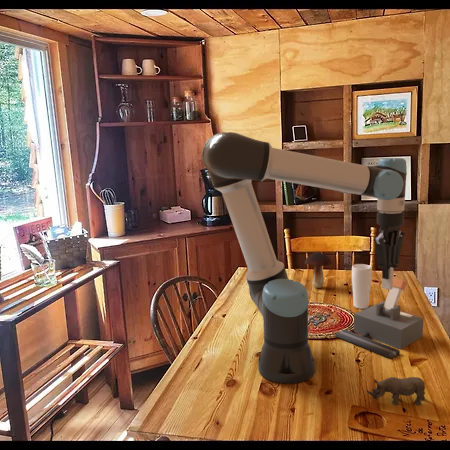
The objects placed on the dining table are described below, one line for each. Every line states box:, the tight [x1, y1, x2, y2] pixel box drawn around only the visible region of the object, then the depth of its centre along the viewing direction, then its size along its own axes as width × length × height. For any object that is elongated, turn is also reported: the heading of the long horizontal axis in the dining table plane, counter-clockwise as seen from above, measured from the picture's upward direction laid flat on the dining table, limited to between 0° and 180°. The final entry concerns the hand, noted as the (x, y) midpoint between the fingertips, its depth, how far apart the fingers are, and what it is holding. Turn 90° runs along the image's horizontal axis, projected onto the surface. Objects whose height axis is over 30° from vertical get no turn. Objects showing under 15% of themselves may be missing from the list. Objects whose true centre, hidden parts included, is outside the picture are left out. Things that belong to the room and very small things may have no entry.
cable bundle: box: [335, 329, 401, 359], centre depth 131 cm, size 8×19×1 cm, turn 38°
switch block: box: [353, 300, 424, 350], centre depth 136 cm, size 12×16×10 cm
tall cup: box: [351, 263, 373, 310], centre depth 158 cm, size 7×7×15 cm
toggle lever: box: [382, 277, 407, 315], centre depth 136 cm, size 2×4×11 cm
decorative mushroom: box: [304, 251, 333, 289], centre depth 180 cm, size 11×11×15 cm
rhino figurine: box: [365, 376, 426, 406], centre depth 103 cm, size 4×14×6 cm, turn 87°
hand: (387, 288), depth 134 cm, fingers closed
